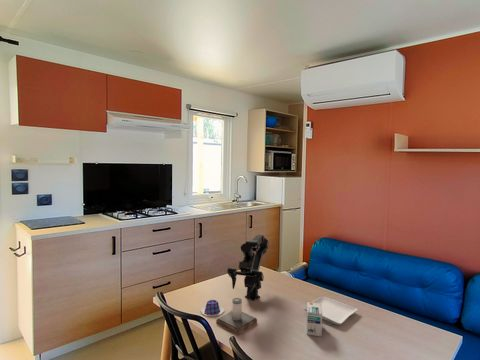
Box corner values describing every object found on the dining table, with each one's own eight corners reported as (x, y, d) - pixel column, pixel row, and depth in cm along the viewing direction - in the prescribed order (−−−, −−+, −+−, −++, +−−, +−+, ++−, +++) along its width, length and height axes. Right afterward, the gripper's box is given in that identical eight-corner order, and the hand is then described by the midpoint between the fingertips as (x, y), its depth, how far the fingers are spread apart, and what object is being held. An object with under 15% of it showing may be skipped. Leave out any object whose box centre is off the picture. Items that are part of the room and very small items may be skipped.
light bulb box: (321, 337, 139) (322, 314, 138) (306, 335, 141) (307, 312, 140) (320, 324, 150) (321, 303, 149) (306, 322, 151) (307, 301, 150)
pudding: (218, 304, 168) (218, 295, 168) (227, 314, 158) (227, 304, 157) (197, 308, 163) (197, 299, 163) (205, 319, 152) (205, 309, 152)
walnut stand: (235, 312, 159) (235, 308, 159) (256, 322, 150) (257, 317, 150) (216, 323, 148) (216, 318, 148) (237, 334, 139) (237, 329, 139)
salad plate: (358, 314, 161) (358, 308, 161) (340, 330, 146) (340, 323, 146) (321, 300, 176) (322, 295, 176) (301, 313, 160) (302, 307, 160)
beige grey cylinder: (240, 315, 152) (240, 297, 151) (242, 319, 147) (242, 301, 147) (231, 316, 151) (231, 298, 150) (233, 320, 146) (233, 302, 146)
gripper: (228, 252, 162) (220, 280, 152) (263, 256, 156) (257, 286, 147) (233, 262, 170) (225, 289, 160) (266, 266, 164) (260, 295, 155)
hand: (241, 290), depth 155 cm, fingers open, 9 cm apart
